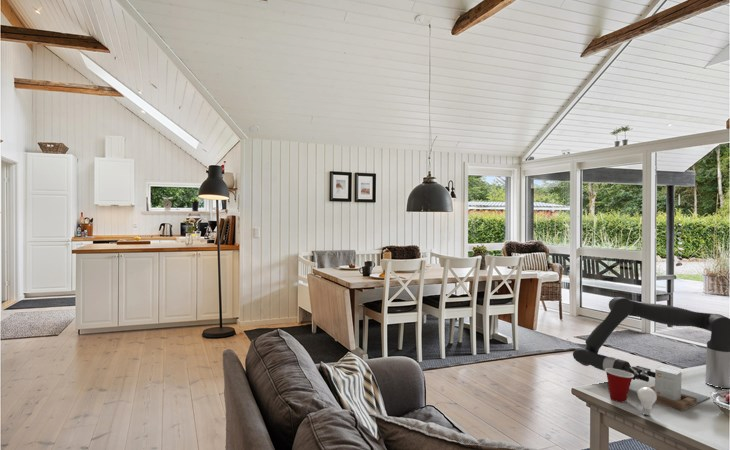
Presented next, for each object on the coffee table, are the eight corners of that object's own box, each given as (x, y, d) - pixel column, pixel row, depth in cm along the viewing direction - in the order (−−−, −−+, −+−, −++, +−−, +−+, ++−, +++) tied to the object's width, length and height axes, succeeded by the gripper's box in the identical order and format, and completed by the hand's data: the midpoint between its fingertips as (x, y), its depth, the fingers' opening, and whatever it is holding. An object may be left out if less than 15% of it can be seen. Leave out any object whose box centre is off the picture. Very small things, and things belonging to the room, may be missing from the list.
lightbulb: (638, 410, 178) (639, 383, 177) (657, 415, 174) (658, 387, 173) (635, 415, 173) (636, 387, 172) (655, 420, 169) (656, 392, 168)
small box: (680, 402, 187) (682, 371, 187) (676, 405, 183) (677, 374, 183) (659, 395, 193) (660, 366, 193) (653, 399, 189) (655, 369, 189)
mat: (678, 388, 202) (678, 387, 202) (709, 398, 192) (710, 397, 192) (666, 393, 196) (666, 392, 196) (697, 403, 186) (697, 402, 186)
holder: (655, 390, 199) (655, 385, 199) (696, 404, 185) (696, 398, 185) (639, 396, 191) (639, 391, 191) (681, 411, 178) (681, 405, 178)
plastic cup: (639, 403, 185) (640, 374, 184) (619, 405, 181) (620, 377, 181) (617, 393, 195) (618, 366, 195) (598, 395, 192) (599, 368, 191)
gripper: (608, 361, 203) (645, 371, 189) (624, 356, 211) (662, 366, 197) (607, 377, 203) (645, 389, 189) (624, 372, 211) (661, 383, 197)
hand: (653, 377), depth 193 cm, fingers open, 8 cm apart
